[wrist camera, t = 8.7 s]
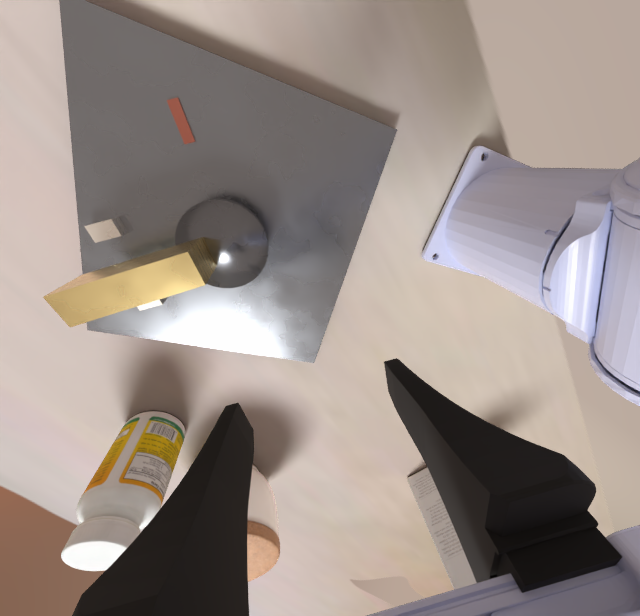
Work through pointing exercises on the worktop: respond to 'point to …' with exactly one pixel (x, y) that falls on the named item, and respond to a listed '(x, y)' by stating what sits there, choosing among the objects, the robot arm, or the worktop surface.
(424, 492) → the skincare box
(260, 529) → the lidded jar
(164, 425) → the supplement bottle
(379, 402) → the worktop surface
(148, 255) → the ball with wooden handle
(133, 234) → the base plate
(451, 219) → the robot arm
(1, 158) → the worktop surface
